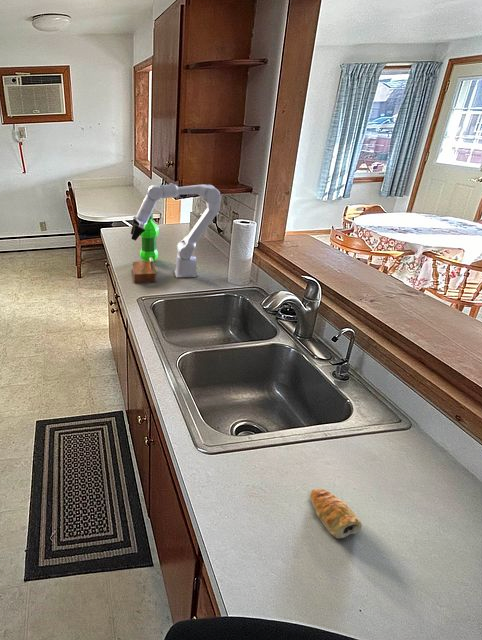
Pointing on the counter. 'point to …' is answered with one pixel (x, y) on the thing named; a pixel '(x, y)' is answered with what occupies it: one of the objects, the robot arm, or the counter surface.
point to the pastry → (334, 514)
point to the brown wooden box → (143, 278)
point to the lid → (144, 268)
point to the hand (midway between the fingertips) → (133, 237)
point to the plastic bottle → (149, 240)
